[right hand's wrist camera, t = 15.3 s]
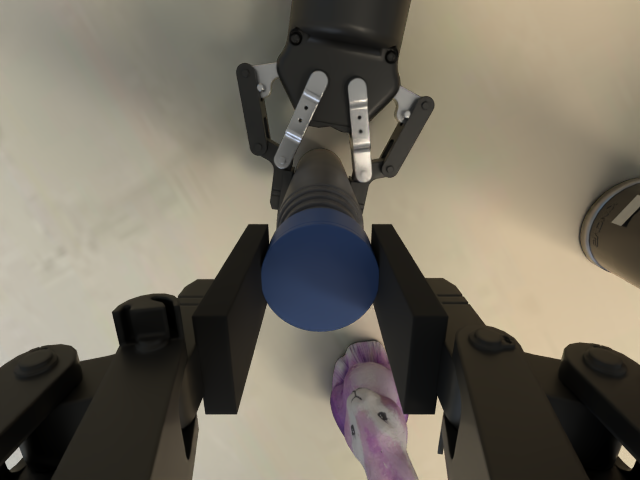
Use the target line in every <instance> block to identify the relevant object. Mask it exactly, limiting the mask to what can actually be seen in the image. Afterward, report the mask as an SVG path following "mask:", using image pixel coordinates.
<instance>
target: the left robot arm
mask: <svg viewBox="0 0 640 480" xmlns="http://www.w3.org/2000/svg"><path fill="white" fill-rule="evenodd" d="M410 3H411V0H292V6H291V14H290V22H289V31H288V38H287V43H286V45H285V48H284V50H283V51H282V53H281V54H280V56H279V57H278V60H277V62H275V63H267V64H260V65H250V64H248V63H242V64H240V65H239V66H238V68H237V71H236V74H237V80H238V85H239V91H240V96H241V101H242V107H243V112H244V118H245V123H246V129H247V134H248V139H249V145H250V150H251V151H252V153H253V154H255V155H257V156H262V157H263V158H265V159H267V160H269V161H270V162H271V163H272V165H273V167H274V175H273V183H272V191H271V199H270V204H271V207H272V209H276V210H278V213H279V210H280V207H281V205H282V202H283V200H284V197H285V195H286V192H287V190H288V187H289V185H290V182H291V180H292V177H293V175H294V169H295V167H292V165H293V157H294V155H295V153H296V151H297V149H298V147H299V145H300V143H301V140H302V138H303V136H304V134H305V132H306V130H307V128H308V126H313V127H318V128H319V127H329V126H330V127H333V128H335V129H337V130H339V131H341V132H347V133H349V142H350V148H351V158H352V168H353V173H352V177H351V176H349V178H348V180H349V182H350V185H351V187H352V190H353V192H354V195H355V197H356V200H357V202H358V205H359V207H360V210H361V212H362V214H363V209H364V204H365V200H366V195H367V191H368V186H369V184H370V183H371V182H372V181H373V180H374V179H377V178H383V177H388V178H391V177H394V176H395V175H396V174H397V173H398V171H399V169H400V167H401V166H402V164H403V162H404V160H405V159H406V157H407V155H408V153H409V151H410V150H411V148H412V146H413V144H414V143H415V141H416V139H417V137H418V136H419V134H420V132H421V130H422V129H423V127H424V125H425V123H426V121H427V120H428V118H429V116H430V114H431V113H432V111H433V109H434V101H433V99H432V98H430V97H428V96H424V97H420V96H418V95H417V94H415V93H413V92H411V91H409V90H408V89H406V88H404V87H402V86H400V77H399V73H398V58H399V53H400V48H401V44H402V39H403V34H404V30H405V25H406V21H407V16H408V12H409V7H410ZM278 78H279V79H280V81H281V83H282V85H283V87H284V89H285V91H286V93H287V95H288V97H289V99H290V101H291V103H292V105H293V107H294V109H295V112H294V114H293V116H292V118H291V120H290V123H289V125H288V127H287V129H286V132H285V135H284V137H283V139H282V141H281V143H280V144H278V143H276V142H274V141H273V140H271V138H270V132H269V126H268V120H267V114H266V108H265V101H264V98H266V97H268V96H270V95H271V93H272V85H273V82H274V81H275V80H276V79H278ZM392 99H393V100H394V102H395V104H396V109H395V112H394V117H395V119H396V121H398V122H399V123H398V124H397V126H396V128H395V130H394V132H393V134H392V136H391V137H390V139H389V141H388V143H387V145H386V147H385V148H384V150H383V152H382V154H381V156H380V158H379V159H374V160H371V153H370V148H371V142H370V130H369V122H370V121H371V120H372V119H373V118H374V117H375V116H376V115H377V114H378V113H379V112H380V111H381V110H382V109H383V108H384V107H385V106H386V105H387V104H388V103H389V102H390V101H391V100H392ZM277 216H278V214H277ZM580 237H581V246H582V249H583V251H584V253H585V255H586V257H587V258H588V259H589V260H590V261H591V262H592V263H593V264H595V265H597V266H598V267H600V268H602V269H604V270H606V271H608V272H611V273H613V274H615V275H617V276H618V277H620V278H622V279H624V280H625V281H627V282H629V283H630V284H632V285H634V286H636V287H638V288H639V289H640V178H635V179H631V180H627V181H625V182H622V183H620V184H618V185H616V186H614V187H612V188H611V189H609V190H608V191H607V192H605V193H604V194H603V195H602V196H600V197H599V198H598V199H597V200H596V202H595V203H594V204H593V205H592V207H591V208H590V209H589V211H588V213H587V215H586V217H585V219H584V221H583V224H582V228H581V236H580Z"/></svg>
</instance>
